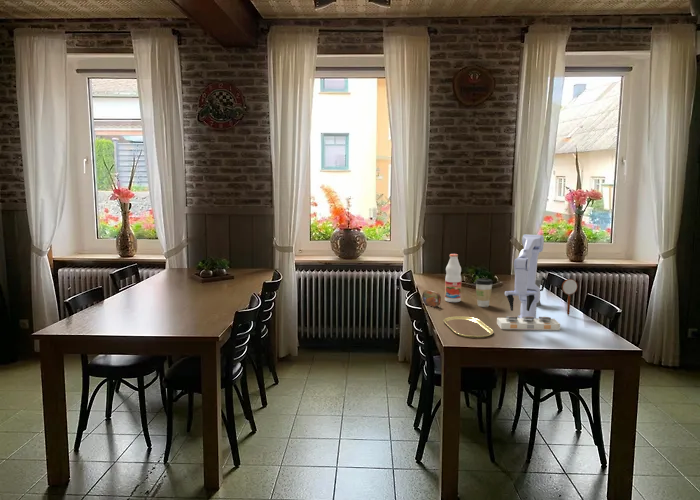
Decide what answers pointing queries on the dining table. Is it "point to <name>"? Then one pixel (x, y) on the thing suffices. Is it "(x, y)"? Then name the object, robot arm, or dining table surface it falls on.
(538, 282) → the coffeepot
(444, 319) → the serving platter
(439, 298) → the tin
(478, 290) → the coffee cup
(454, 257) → the fruit juice
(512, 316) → the rocker
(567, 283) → the magnifying glass
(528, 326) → the switch panel
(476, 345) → the dining table surface
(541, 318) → the rocker
